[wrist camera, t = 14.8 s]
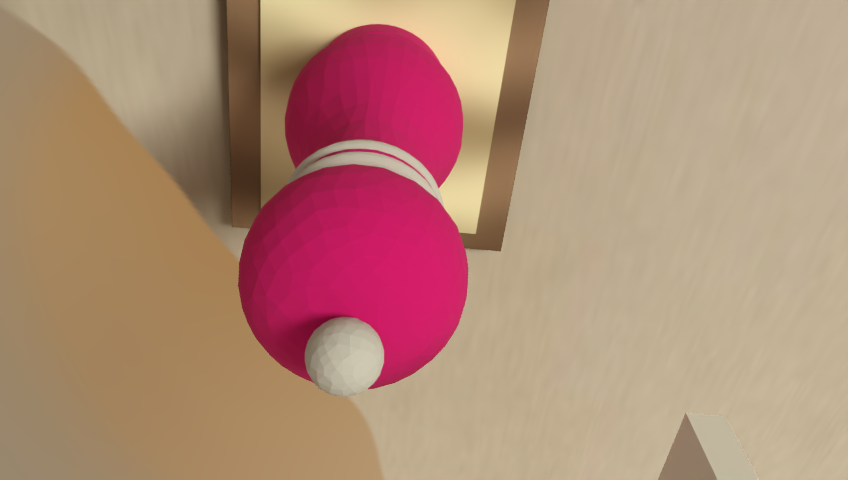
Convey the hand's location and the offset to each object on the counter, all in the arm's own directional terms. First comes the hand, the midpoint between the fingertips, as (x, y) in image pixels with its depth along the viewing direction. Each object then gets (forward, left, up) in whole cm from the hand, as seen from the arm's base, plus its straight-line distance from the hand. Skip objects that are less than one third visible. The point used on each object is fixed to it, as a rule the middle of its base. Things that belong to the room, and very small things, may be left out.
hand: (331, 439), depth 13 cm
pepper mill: (0, 0, -22) cm, 22 cm away
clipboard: (0, 0, -23) cm, 23 cm away
